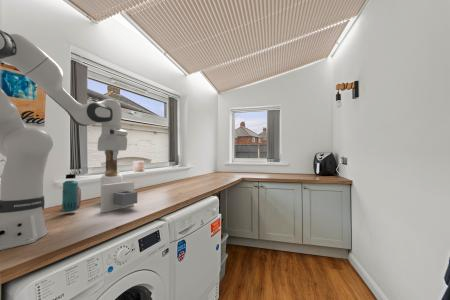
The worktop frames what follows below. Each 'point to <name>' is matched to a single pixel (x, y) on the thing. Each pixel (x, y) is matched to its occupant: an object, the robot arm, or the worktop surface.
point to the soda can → (79, 197)
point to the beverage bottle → (70, 194)
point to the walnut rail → (110, 164)
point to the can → (112, 179)
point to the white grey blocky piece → (117, 196)
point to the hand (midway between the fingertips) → (111, 159)
